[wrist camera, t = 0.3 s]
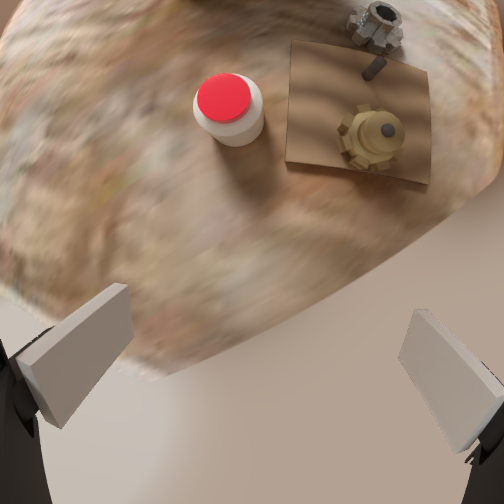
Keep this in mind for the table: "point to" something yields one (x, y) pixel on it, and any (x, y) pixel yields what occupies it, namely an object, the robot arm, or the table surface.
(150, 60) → the table surface
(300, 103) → the gear board
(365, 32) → the steel gear
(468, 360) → the robot arm
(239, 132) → the pill bottle
